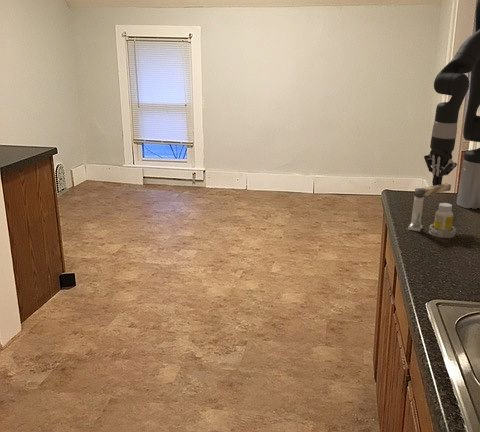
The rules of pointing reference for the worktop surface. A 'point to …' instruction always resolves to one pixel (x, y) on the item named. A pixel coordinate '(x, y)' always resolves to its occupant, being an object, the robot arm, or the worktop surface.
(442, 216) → the supplement bottle
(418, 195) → the bar
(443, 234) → the frame
